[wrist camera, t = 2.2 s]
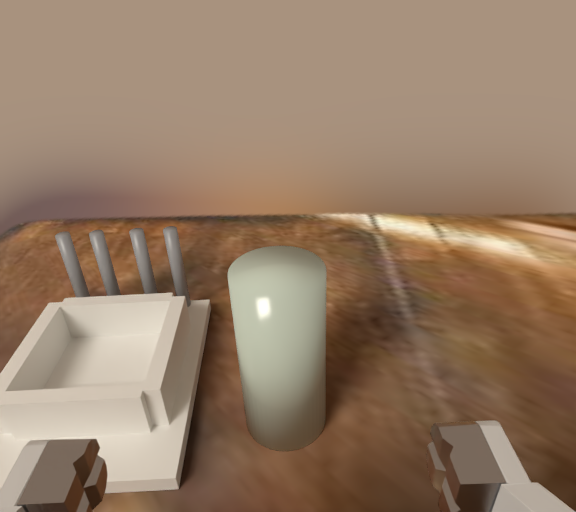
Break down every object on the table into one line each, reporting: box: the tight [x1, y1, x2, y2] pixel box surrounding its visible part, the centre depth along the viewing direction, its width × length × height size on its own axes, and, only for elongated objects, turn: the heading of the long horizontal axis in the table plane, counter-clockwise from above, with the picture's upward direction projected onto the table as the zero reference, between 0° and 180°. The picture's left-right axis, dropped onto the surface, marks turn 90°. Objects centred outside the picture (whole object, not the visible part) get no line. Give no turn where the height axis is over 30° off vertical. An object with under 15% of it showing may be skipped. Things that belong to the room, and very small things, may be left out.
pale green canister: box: [228, 246, 326, 451], centre depth 26 cm, size 5×5×11 cm
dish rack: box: [0, 226, 211, 493], centre depth 30 cm, size 12×16×8 cm
